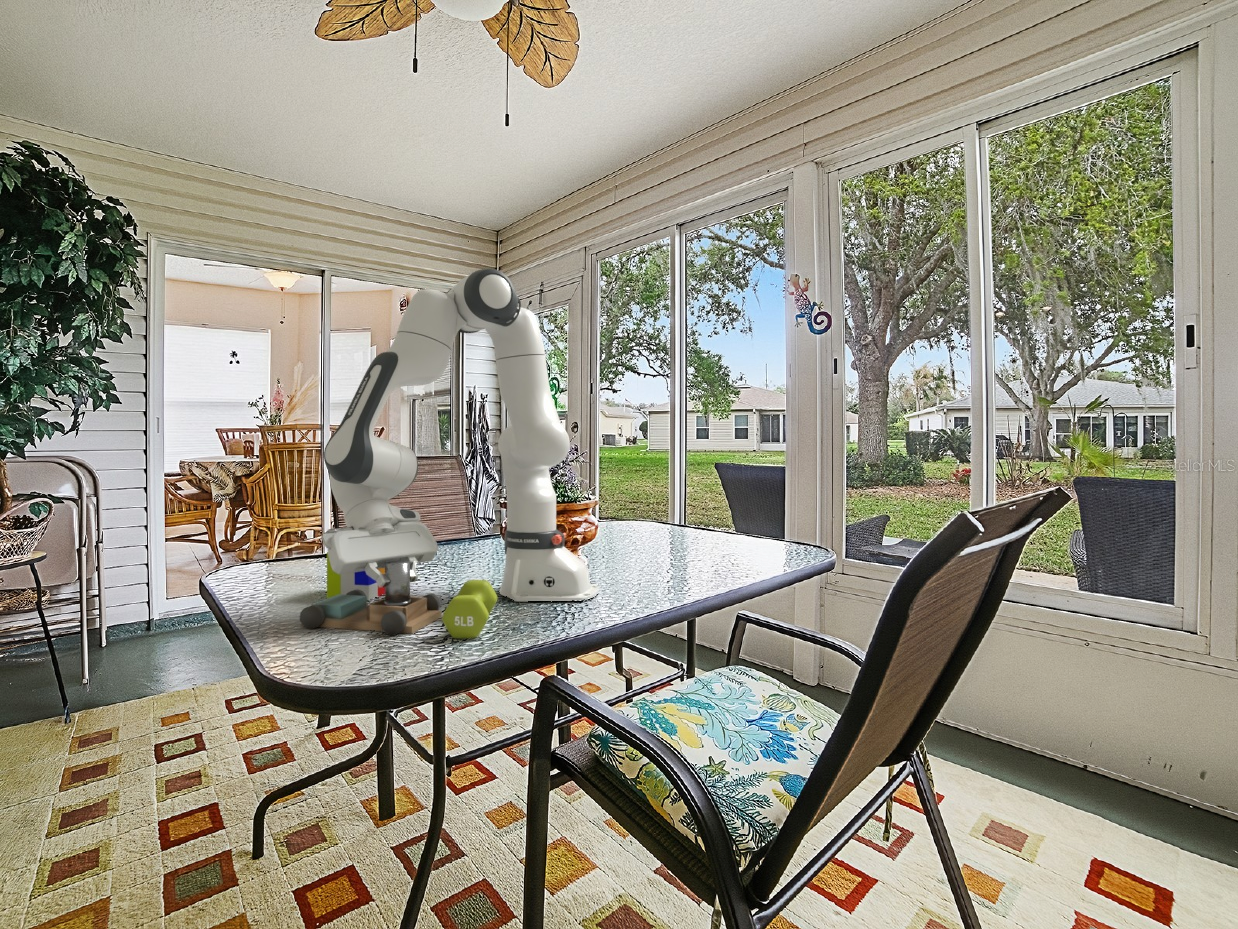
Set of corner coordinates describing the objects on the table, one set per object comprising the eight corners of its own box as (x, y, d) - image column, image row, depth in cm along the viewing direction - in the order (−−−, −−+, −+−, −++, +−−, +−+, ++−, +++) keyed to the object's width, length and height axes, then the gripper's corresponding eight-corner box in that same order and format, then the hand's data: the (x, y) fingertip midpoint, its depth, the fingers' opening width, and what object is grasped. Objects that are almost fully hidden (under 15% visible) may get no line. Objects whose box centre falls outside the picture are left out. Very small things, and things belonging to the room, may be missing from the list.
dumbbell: (487, 640, 105) (487, 598, 105) (439, 641, 105) (439, 598, 105) (499, 614, 122) (499, 578, 122) (457, 615, 121) (457, 578, 121)
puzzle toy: (368, 601, 132) (368, 554, 131) (326, 598, 134) (326, 552, 133) (394, 590, 141) (394, 547, 141) (355, 588, 143) (355, 545, 143)
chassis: (445, 614, 121) (445, 594, 121) (407, 636, 107) (407, 613, 107) (344, 608, 125) (344, 588, 125) (294, 628, 111) (294, 606, 111)
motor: (415, 603, 117) (415, 561, 117) (402, 609, 112) (402, 565, 112) (393, 602, 118) (393, 560, 117) (379, 608, 113) (379, 564, 113)
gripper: (324, 519, 111) (349, 581, 105) (425, 511, 127) (453, 564, 121) (313, 541, 114) (337, 602, 108) (413, 530, 130) (440, 584, 124)
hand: (399, 582), depth 114 cm, fingers closed on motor, 4 cm apart
